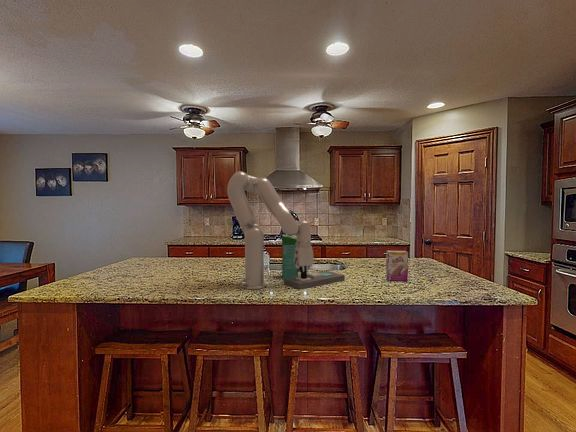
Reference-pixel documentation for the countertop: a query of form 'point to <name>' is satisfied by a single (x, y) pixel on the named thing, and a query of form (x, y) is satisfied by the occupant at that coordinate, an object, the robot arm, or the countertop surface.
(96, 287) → the countertop surface
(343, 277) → the keypad
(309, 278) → the cream key
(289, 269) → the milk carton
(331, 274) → the teal key
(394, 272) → the candy bar box
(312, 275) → the slate key
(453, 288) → the countertop surface
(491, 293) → the countertop surface
